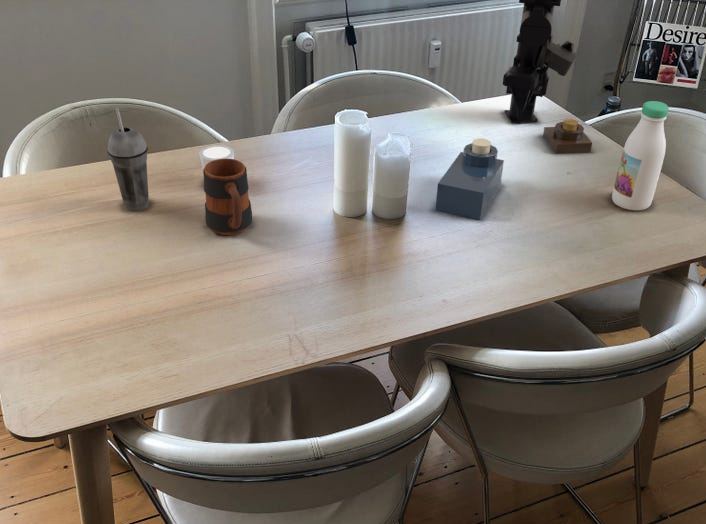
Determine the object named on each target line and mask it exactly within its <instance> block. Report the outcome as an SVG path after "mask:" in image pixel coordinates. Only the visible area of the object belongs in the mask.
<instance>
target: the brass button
mask: <svg viewBox="0 0 706 524" xmlns="http://www.w3.org/2000/svg"><path fill="white" fill-rule="evenodd" d="M562 122H563V125H562V129H564V130H568V131H575V130H577V125H578V124H579V121H578V120H577V119H574V118H564V119H563V120H562Z"/></svg>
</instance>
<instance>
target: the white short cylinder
mask: <svg viewBox="0 0 706 524" xmlns="http://www.w3.org/2000/svg"><path fill="white" fill-rule="evenodd" d="M471 143H472V152H473V153H475V154H480V155H481V154H489V153H490V147H491V145H492V142H491V141H490V140H489V139H487V138H484V137H483V138H482V137H480V138H474V139H473V140H472V142H471Z"/></svg>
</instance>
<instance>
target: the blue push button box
mask: <svg viewBox="0 0 706 524" xmlns="http://www.w3.org/2000/svg"><path fill="white" fill-rule="evenodd" d="M498 153H499V151H498V148H497V147H495V146H494V145H492V144H491V147H490V153H489V154H481V155H480V154H475V153H473V152H472V142H471V143H469V144H466V145H465V146H464V147H463V151H460V152H459V154H458V155H457V157H456V158H455V159H454V160H453V162H452V163H451V164H450V166H449V168H447V170H446V172H444V174H443V176H442V177H441V179H440V180H439V181H438V182H437V189H436V200H435V209H434V210H435V211H436V212H441V213H446V214H450V215H454V216H459V217H464V218H468V219H472V220H473V219H474V220H476V221H477V220H478V221H481V220H482V218H483V216H484V215H485V213H486V211H487V210H488V207H489V206H490V204H491V203H492V201H493V199H494V197H495V196H496V194H497V192H498V191H499V190H500V188H501V182H502V177H503V170H504V163H505V159H499V158H498Z"/></svg>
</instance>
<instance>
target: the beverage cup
mask: <svg viewBox="0 0 706 524" xmlns="http://www.w3.org/2000/svg"><path fill="white" fill-rule="evenodd" d="M115 113H116V115H117V121H118V125H119V128H117V129H116V130H114V131H113V132H112V133H111V135H110V136H109V138H108V143H107V154H108V156H109V159H110V162H111V163H112V167H113V170H114V173H115V177H116V181H117V184H118V188H119V192H120V196H121V200H122V201H123V205H124V208H125V209H126V210H128V211H130V212H140V211H144V210H145V209H147V208H149V205H150V204H149V197H150V196H149V182H148V163H147V161H148V151H149V148H148V145H147V142H146V140H145V137H143V135H142V134H141V132H139V131H138V130H136V129H134V128H132V127H127V126H125V127H124V126H123V125H124V124H123V122H122V121H123V120H122V117H121V113H120V109H119V107H115Z"/></svg>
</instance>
